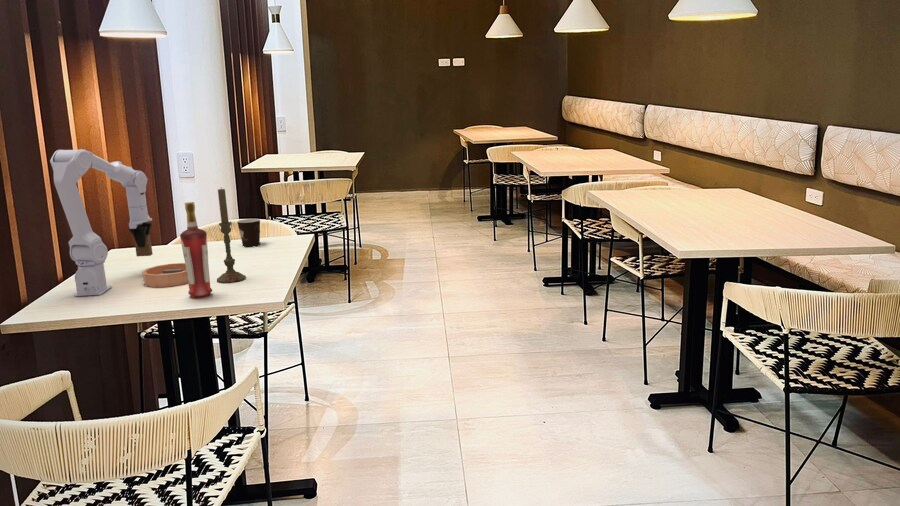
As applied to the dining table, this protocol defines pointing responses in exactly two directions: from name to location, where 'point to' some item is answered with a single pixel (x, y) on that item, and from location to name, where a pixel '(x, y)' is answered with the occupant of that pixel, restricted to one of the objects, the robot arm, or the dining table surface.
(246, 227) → the coffee mug
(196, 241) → the liquor
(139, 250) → the brown rectangular block
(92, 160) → the robot arm
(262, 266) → the dining table surface
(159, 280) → the faceted copper bowl
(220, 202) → the candlestick holder
